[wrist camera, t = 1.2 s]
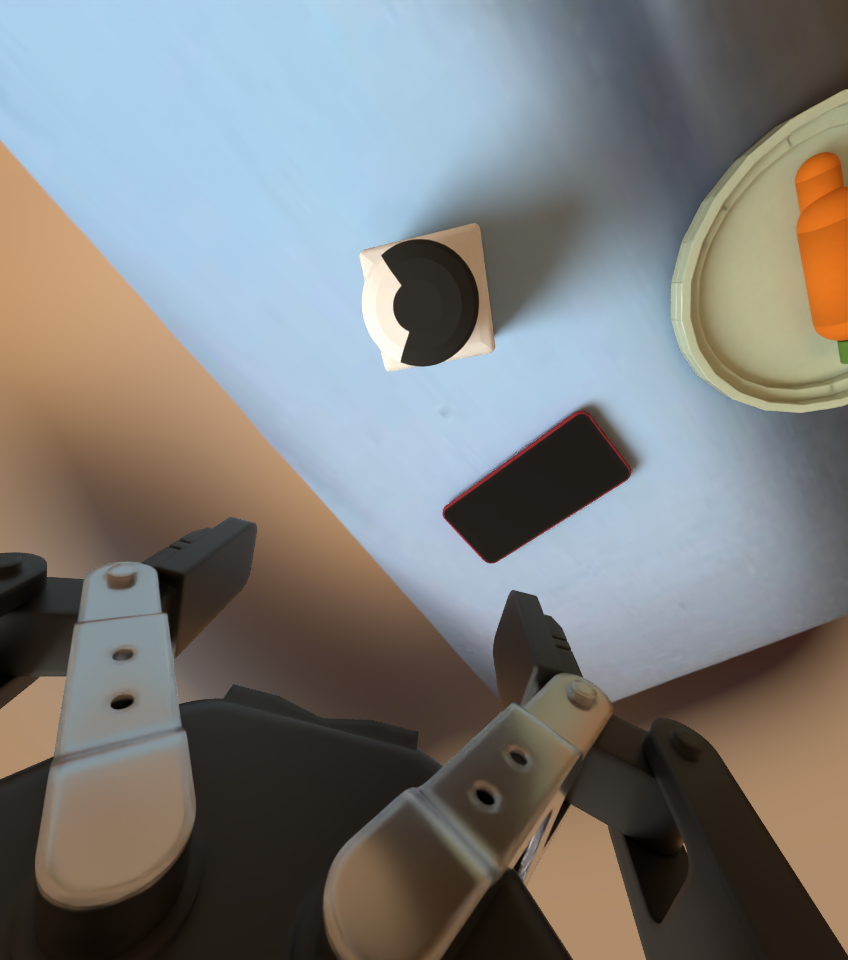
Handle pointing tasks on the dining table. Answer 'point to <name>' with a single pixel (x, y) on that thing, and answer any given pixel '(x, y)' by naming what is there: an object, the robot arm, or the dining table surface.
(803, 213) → the carrot
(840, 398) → the plate
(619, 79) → the dining table surface
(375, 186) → the dining table surface
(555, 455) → the smartphone
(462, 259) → the medicine bottle
